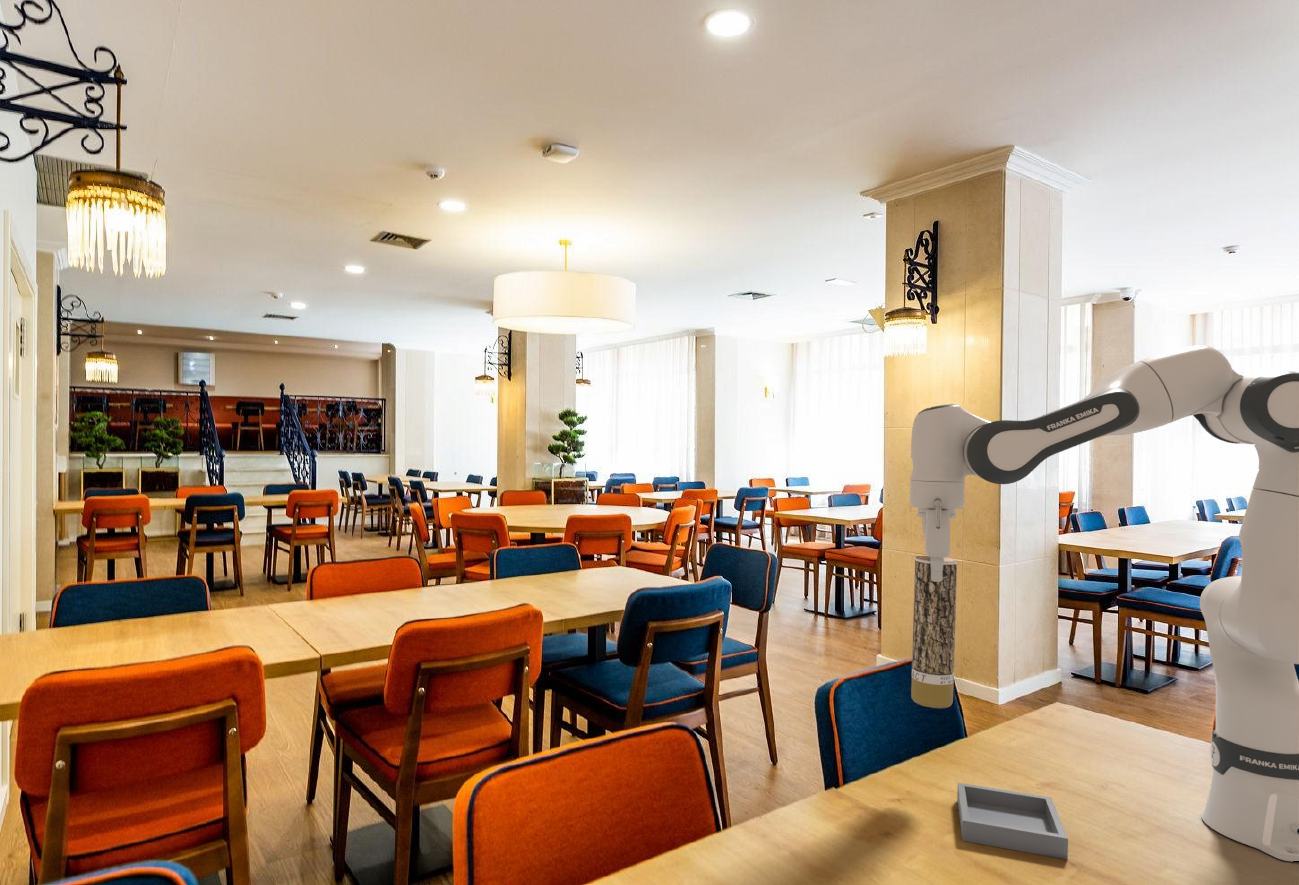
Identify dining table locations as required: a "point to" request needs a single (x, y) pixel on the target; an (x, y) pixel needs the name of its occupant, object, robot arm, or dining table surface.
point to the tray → (1011, 820)
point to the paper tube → (933, 634)
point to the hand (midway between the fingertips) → (935, 577)
